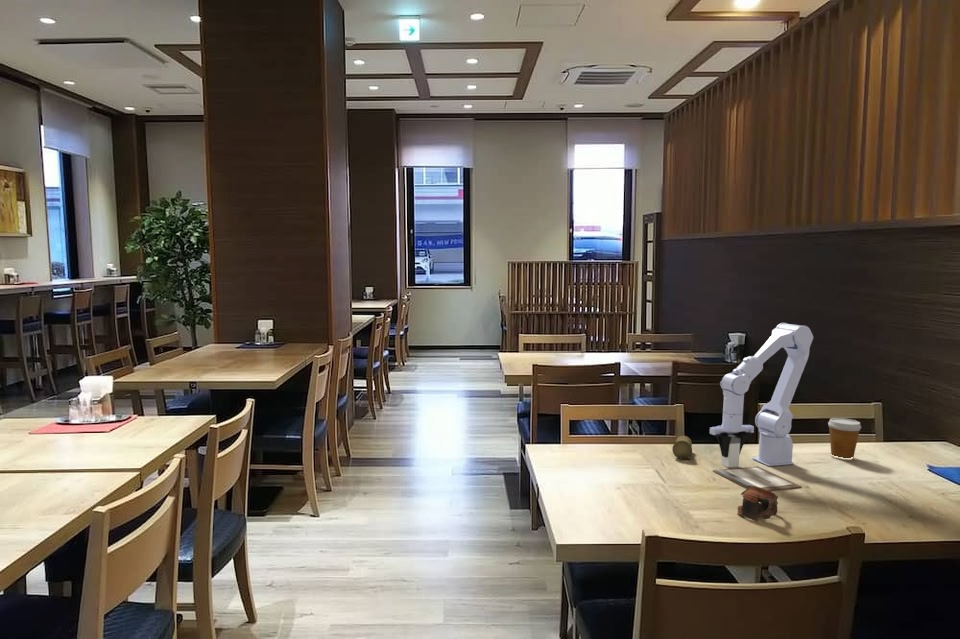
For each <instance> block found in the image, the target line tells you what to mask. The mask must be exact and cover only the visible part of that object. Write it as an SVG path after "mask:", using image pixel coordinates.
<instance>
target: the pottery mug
mask: <svg viewBox="0 0 960 639" xmlns="http://www.w3.org/2000/svg"><path fill="white" fill-rule="evenodd" d="M740 496H742V505H738V506H737V515H739V516H742V517H745V518H747V519H749V520H752V521H754V522H758V521H759V517H760V516H761V517H762V519H763V520H768V519H770V518H771V516H773V515H776V514H778V505H779V502H778V499H779V496H778V495H777V494H776V493H774V492H772V491H768V490H766V489H763V488H760V487H756V486H751V485H749V486H747V489H745V490H743V491H742V492H741V493H740Z"/></svg>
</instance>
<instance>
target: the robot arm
mask: <svg viewBox="0 0 960 639" xmlns="http://www.w3.org/2000/svg"><path fill="white" fill-rule="evenodd" d="M813 340H814V334H813V333H812V331H811V329H810V327H809V326H807V325H799V324H791V323H790V324H789V323H787V322H781V323H779V324H777V325H776V327H775V328H773V329H772V330H771V336H769V338H768V339H767V340H766V341H765V343H764V344H763V345H762V346H761V347H760V348H759V350H757V352H755V354H754V355H751V356H750V355H748V356H747V357H744V358H743V359H742V362H741V363H740V364H739V365H738V366H736V368H734V369H733V370H732V372H729V373H727V374H725V375H724V376H723V377H722V379H721V381H720V382H719V385H720V387H721V389H722V395H723V403H722V404H723V407H722V421H721V422H722V423H721V425H717V426H712V427H709V434H710V435H712V436H714V437H715V438H716V440H717V442H718V444H719V448H720V454H721V457H722V456H723V457H728V452H729V445H730V441H731V439H732V437H730V436H728V435H729V434H731V435H734V436H737V437H739V438H741V439H740V452H739V456H740V455H741V452H742V450H743V447H744V445H745V443H746V441H747V440H748V439H749V434H748V433H751V434H752V433H755V431H754V430H755V426H756V427H757V428H758V432H759V442H758V456H752V457H751V459H752V460H755V461H757V462H758V463H760V464H761V463H762V464H763V465H765V466H769V467H773V466H774V467H776V466H785V465H786V466H787V465H794V462H793V451H794V450H793V448H794V443H793V440H792V437H791V436H790V435H789V433H790V432H791V429H792V421H793V417H794V415H793V412H791V410H790V408H789V407H790V405H791V403H792V400H793V397H794V396H795V393H796V389H797V388H798V385H799V383H800V380H801V377H802V374H803V372H804V370H805V367H806V364H807V362H808V360H809V356H810V348H811V345H812V343H813ZM782 348H783V349H784V351H786V354H787V358H786V360H785V364H784V366H783V369H782V372H780V373H781V374H780V377H779V379H778V381H777V384H776V385H775V389H774V391H773V394H772V396H771V400H770V401H769V402H767V403H765V404H763V405H762V407H761V409H760V411H759V412H758V413H757V414H756V415H755V419H754V423H755V426H754V425H751V424H743V419H744V418H743V417H744V402H745V399H744V398H745V393H746V392H748V391H749V388H750V385H751V383H752V381H753V380H754V379H755V378H756V377H757V376H758V375H759V374H760V372H762V371H763V369H764V363H765V362H767V360H769V359H770V358H771V357H772V356H774V355H775V354H776V353H777V352H778V351H779V350H780V349H782Z"/></svg>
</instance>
